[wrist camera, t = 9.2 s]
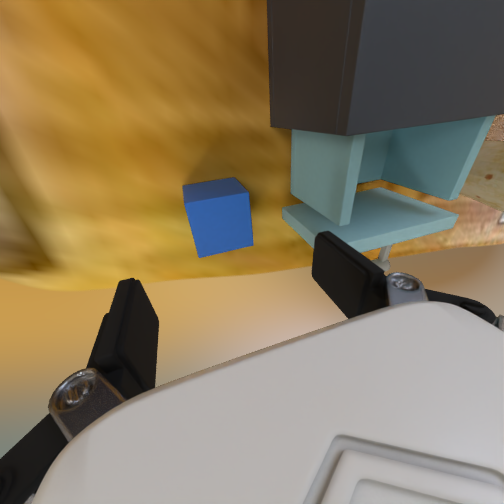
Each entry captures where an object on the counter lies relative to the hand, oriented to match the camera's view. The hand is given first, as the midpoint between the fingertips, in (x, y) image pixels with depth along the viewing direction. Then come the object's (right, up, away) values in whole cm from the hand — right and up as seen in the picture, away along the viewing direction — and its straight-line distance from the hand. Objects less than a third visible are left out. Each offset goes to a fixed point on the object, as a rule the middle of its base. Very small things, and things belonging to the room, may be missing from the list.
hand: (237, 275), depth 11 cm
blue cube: (-3, +5, +8) cm, 10 cm away
